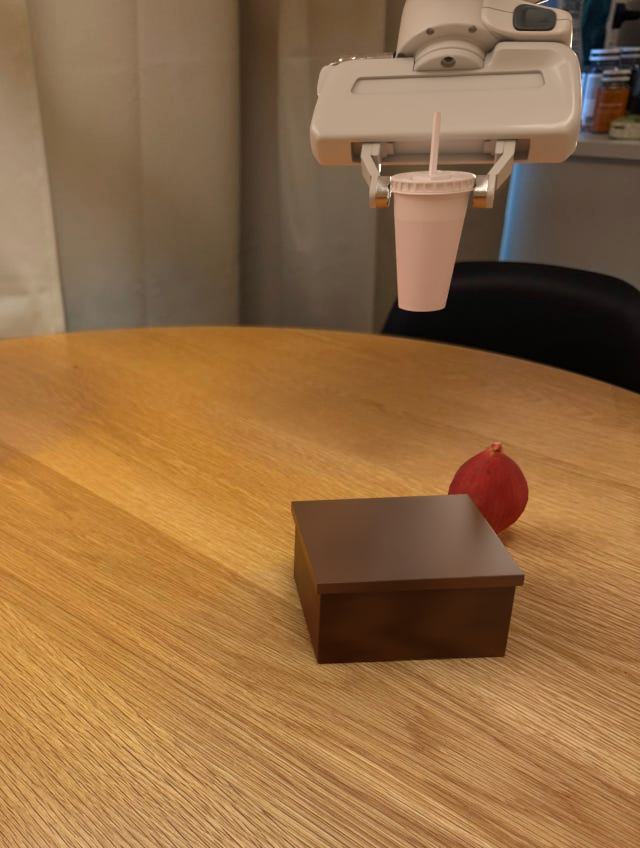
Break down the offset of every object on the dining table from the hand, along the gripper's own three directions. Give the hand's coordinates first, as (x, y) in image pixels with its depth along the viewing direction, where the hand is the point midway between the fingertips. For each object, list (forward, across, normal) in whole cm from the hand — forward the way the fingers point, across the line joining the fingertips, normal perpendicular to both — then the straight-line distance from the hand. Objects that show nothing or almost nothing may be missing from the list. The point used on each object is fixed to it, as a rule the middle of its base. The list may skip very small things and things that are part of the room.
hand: (430, 203), depth 77 cm
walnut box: (+33, +1, 0) cm, 33 cm away
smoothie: (+5, 0, +6) cm, 8 cm away
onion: (+23, +7, +9) cm, 26 cm away
